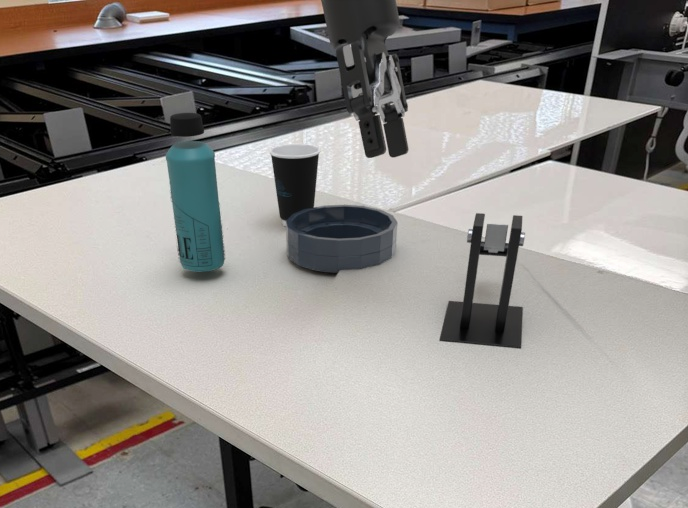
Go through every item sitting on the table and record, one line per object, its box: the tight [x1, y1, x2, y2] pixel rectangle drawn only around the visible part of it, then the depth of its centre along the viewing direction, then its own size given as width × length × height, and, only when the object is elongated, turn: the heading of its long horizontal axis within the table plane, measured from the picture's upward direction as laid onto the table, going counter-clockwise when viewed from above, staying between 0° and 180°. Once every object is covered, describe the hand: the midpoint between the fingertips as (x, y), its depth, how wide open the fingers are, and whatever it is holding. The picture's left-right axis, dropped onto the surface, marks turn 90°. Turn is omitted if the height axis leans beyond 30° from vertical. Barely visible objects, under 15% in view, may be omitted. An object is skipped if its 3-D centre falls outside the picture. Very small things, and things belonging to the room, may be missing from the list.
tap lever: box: [479, 223, 509, 258], centre depth 83 cm, size 13×5×2 cm, turn 166°
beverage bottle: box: [165, 112, 226, 273], centre depth 94 cm, size 6×7×20 cm
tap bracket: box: [439, 212, 526, 349], centre depth 81 cm, size 11×9×13 cm
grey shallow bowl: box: [285, 204, 398, 274], centre depth 103 cm, size 16×16×5 cm
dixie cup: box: [268, 143, 322, 228], centre depth 113 cm, size 8×8×11 cm
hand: (388, 155), depth 80 cm, fingers open, 8 cm apart
